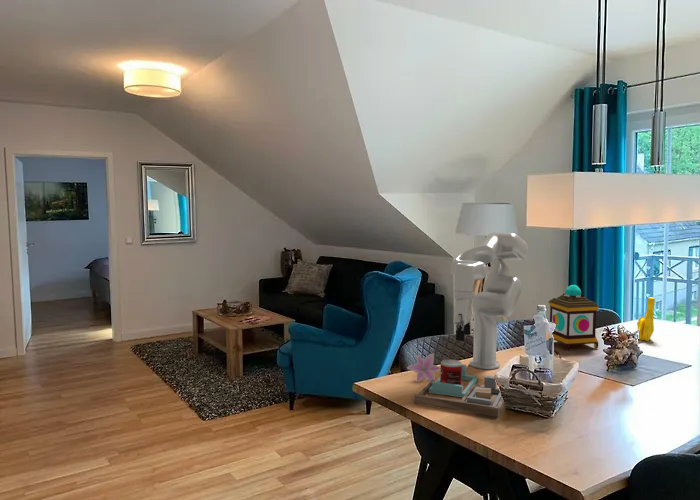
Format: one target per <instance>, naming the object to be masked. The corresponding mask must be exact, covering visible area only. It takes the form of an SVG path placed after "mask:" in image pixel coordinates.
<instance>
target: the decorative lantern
mask: <svg viewBox="0 0 700 500" xmlns="http://www.w3.org/2000/svg"><path fill="white" fill-rule="evenodd" d="M548 306H549V323H550V322H552V323H555V324H556V327H555V329H554V332H553V336H554V340H553V341H556V342H558V343H561V344H562V345H564V350H565V351H566V352H567V351H569V347H570V346H573V345H575V346H577V345H590V344H591V345H592V344H593V348H594V349H596V350H597V349H598V348H599V340H598V339H597V337H596V336H597V335H596V329H597V328H596V327H597V326H596V324H597V311H598V309H599V307H600V306H599V305H598V304H597V303H596V302H595V301H592V300H590V299H588V298H587V297H586V296H585V295H584V294H582V290H581V289H580V287H579V286H578V285H577V284H571V285H569V286H568V287H566V289H565V293H563V294H561V295H559V296H558V297H552V299H549V301H548Z"/></svg>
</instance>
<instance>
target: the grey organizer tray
mask: <svg viewBox="0 0 700 500" xmlns="http://www.w3.org/2000/svg"><path fill="white" fill-rule="evenodd" d="M494 377H495V376H492V375H485V376H484V384H483V385H479V384H476V385H475V388H474V390H473V391H472V393H471V394H470V395H469V396H468V397H467V400H466V401H465V402H472V403H479V404H486V405H492V406H497V405H498V403H499V401H500V399H501V397H502V396H501V393H500V391H499V388H500V387H497V386H498V385H497V384H496V382H495V378H494ZM476 387H480V388H491V394H498V395H497V397H496V398H495V400H494V401H492V399H491V400H490V399H484V398H477V397H476Z"/></svg>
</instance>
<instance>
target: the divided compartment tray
mask: <svg viewBox="0 0 700 500" xmlns="http://www.w3.org/2000/svg"><path fill="white" fill-rule="evenodd" d="M433 381H435V382H436V380H431V381H429V382H428V383H427V384H426V386H424V387H423V388H422V389H421V390H420V391H419V392H418V393H415V394H414V395H413V404H414V405H421V406H425V407H432V408H439V409H444V410H452V411H458V412H465V413H471V414H476V415H477V414H478V415H483V416H490V417H496V418H497V417H498V418H499V415H500V414H501V413H502V412H501V411H502V409H503V408H504V405H505V404H504V400H503V398H502V397H501V399H500V401H499V403H498V405H497V406H492V405H493V404H492V405H486V404H479V403H472V402H465V401H466V400H467V397H468V396H469V395H470V394H471V393H472V391H473V390H474V388H475V387H476V385H472V386H471V387H470V389H469V390H468V391H467V393H466V394H465V395H464V397H463V398H462V397H461V400H458V399H451V398H444V397H439V396H438V397H437V396H432V395H431V396H430V395H427V394H429V388H430V387H431V386H432V382H433Z"/></svg>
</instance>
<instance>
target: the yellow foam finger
mask: <svg viewBox="0 0 700 500" xmlns="http://www.w3.org/2000/svg"><path fill="white" fill-rule="evenodd" d="M655 303H656V301H655V297H650V296H649V297H648V298H647V303H646V304H647V305H646V306H647V307H646V313H645V316H644V315H643V316H641V317H640V318H639V319H638V321H637V322H636V326H637V330H638V329H639V330H640V331H639V341H645V342H649V341H650V340H651V338H652V335H653V333H654V329H655V328H654V310H655Z"/></svg>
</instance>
